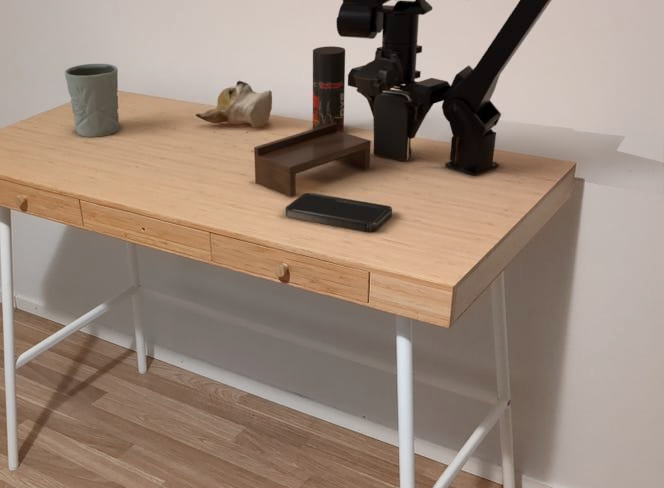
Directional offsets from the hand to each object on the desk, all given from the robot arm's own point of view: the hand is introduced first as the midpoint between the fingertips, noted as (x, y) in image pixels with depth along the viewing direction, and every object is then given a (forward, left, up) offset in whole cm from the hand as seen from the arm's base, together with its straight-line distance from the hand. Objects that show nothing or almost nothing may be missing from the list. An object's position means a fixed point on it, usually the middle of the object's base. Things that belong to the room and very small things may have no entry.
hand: (395, 133), depth 156 cm
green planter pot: (+53, +29, -4) cm, 61 cm away
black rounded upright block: (0, 0, -4) cm, 4 cm away
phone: (-12, +25, -4) cm, 28 cm away
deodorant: (+19, -2, -4) cm, 20 cm away
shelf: (+3, +16, -4) cm, 17 cm away
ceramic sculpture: (+35, +7, -4) cm, 36 cm away
